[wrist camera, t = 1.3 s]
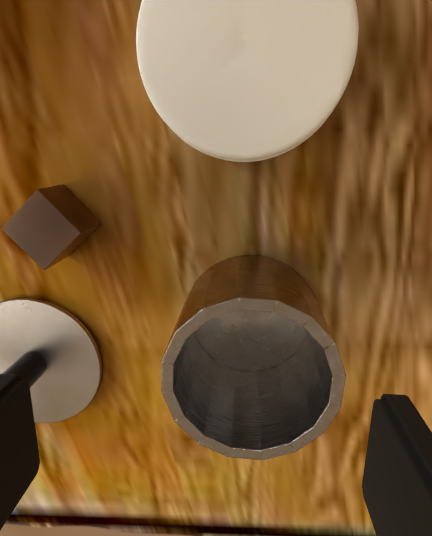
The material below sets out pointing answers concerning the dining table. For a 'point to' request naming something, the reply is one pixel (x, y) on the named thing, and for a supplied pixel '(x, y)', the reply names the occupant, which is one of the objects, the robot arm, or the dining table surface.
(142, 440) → the dining table surface
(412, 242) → the dining table surface
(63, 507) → the dining table surface
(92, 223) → the walnut block
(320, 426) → the steel jar
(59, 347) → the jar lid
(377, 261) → the dining table surface
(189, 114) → the supplement tub
